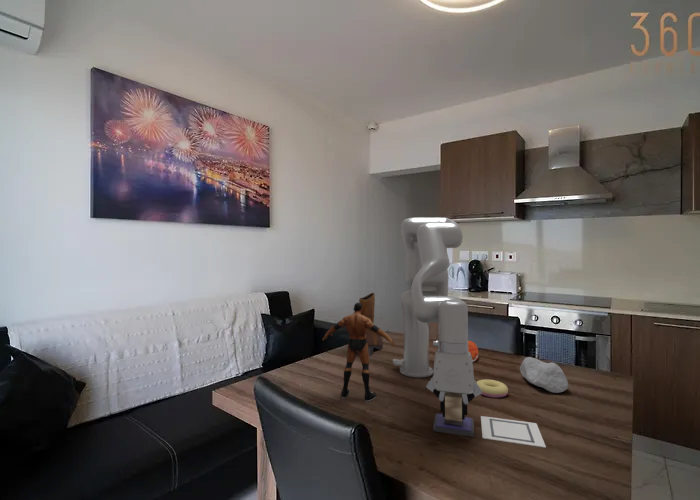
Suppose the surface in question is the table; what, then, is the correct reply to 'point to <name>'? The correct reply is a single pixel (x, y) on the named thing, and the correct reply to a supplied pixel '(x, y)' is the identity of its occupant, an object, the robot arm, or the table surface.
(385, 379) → the table surface
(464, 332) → the robot arm
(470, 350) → the running shoe
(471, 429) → the ink pad
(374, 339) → the boot
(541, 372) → the decorative stone
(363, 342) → the figurine
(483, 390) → the donut
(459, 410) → the beige cardboard box
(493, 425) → the sheet
